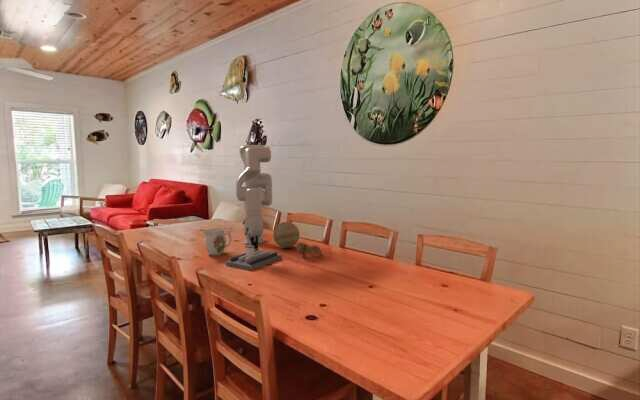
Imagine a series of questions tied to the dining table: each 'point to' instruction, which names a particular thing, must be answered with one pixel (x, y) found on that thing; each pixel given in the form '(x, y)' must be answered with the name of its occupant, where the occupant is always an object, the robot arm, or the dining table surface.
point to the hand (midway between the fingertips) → (254, 248)
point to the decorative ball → (286, 235)
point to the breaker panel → (251, 267)
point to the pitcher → (216, 240)
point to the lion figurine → (308, 249)
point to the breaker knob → (249, 251)
